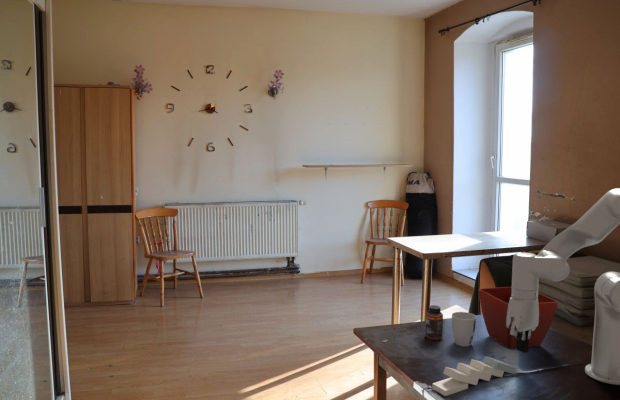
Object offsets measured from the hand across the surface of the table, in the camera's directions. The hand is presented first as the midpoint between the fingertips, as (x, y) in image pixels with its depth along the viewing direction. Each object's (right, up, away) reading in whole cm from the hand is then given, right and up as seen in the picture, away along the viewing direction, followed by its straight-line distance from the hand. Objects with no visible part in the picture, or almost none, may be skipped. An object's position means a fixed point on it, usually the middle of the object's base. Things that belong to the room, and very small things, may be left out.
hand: (522, 350), depth 158 cm
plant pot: (+6, -3, +22) cm, 23 cm away
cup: (-13, -3, +19) cm, 23 cm away
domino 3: (-14, -5, -7) cm, 17 cm away
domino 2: (-19, -5, -10) cm, 22 cm away
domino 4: (-10, -5, -4) cm, 12 cm away
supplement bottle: (-22, -3, +24) cm, 33 cm away
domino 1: (-22, -6, -12) cm, 26 cm away
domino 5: (-5, -5, -2) cm, 7 cm away
